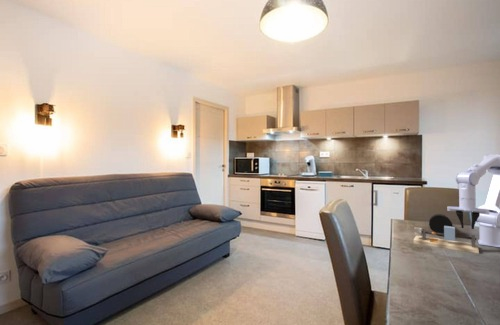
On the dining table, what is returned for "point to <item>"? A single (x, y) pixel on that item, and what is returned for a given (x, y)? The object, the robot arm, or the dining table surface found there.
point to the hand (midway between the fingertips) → (467, 228)
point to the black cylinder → (439, 223)
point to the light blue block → (449, 233)
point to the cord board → (445, 241)
